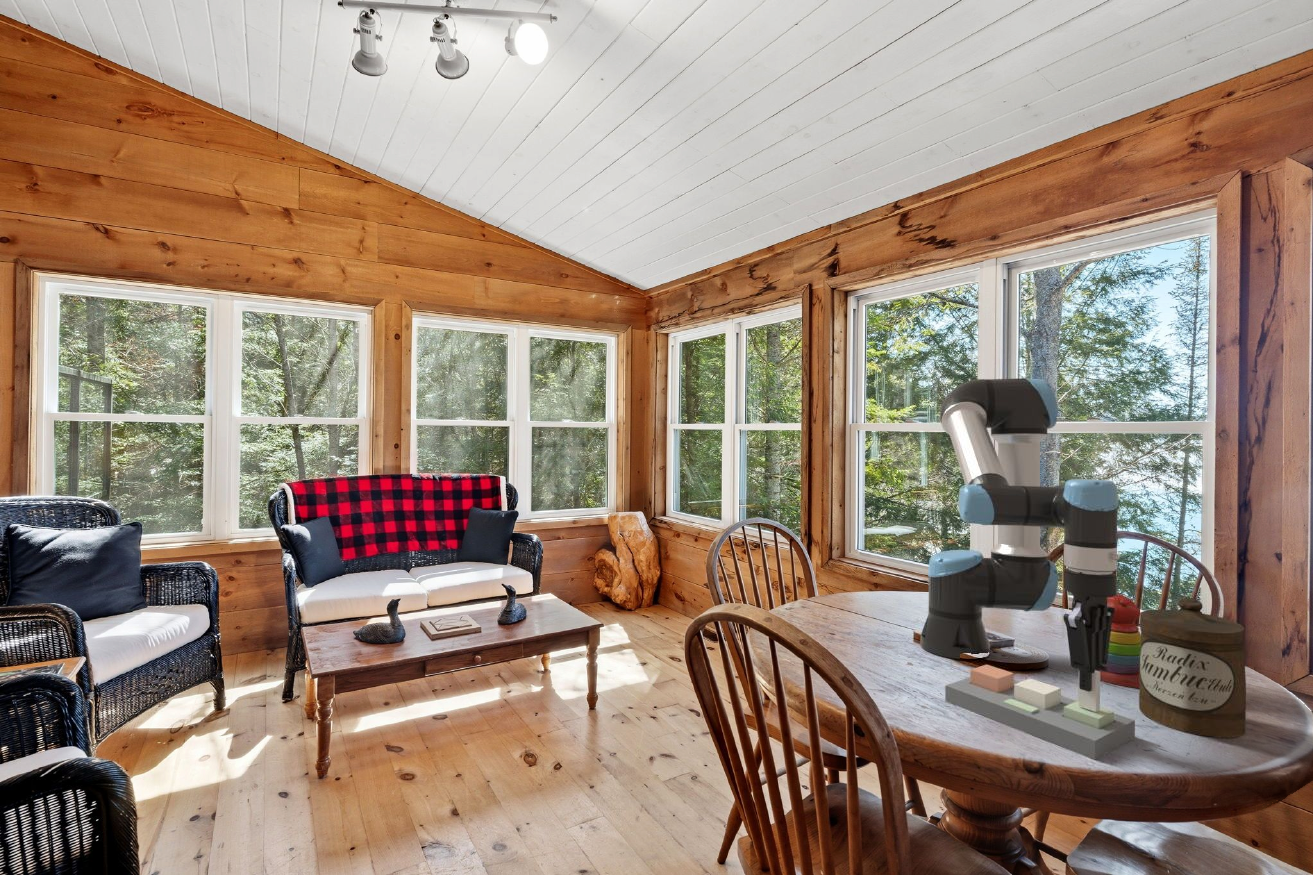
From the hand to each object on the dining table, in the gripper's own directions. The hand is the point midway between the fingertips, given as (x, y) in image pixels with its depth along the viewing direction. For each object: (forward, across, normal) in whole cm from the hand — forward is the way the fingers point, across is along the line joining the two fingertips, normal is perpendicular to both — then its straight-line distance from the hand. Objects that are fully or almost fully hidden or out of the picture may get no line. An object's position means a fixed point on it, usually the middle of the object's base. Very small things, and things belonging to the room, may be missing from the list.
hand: (1089, 707), depth 109 cm
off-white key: (+2, 0, +9) cm, 9 cm away
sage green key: (+3, 0, 0) cm, 3 cm away
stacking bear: (+5, +34, +10) cm, 36 cm away
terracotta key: (+2, 0, +17) cm, 17 cm away
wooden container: (+5, +23, -6) cm, 25 cm away
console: (+5, -1, +9) cm, 10 cm away
